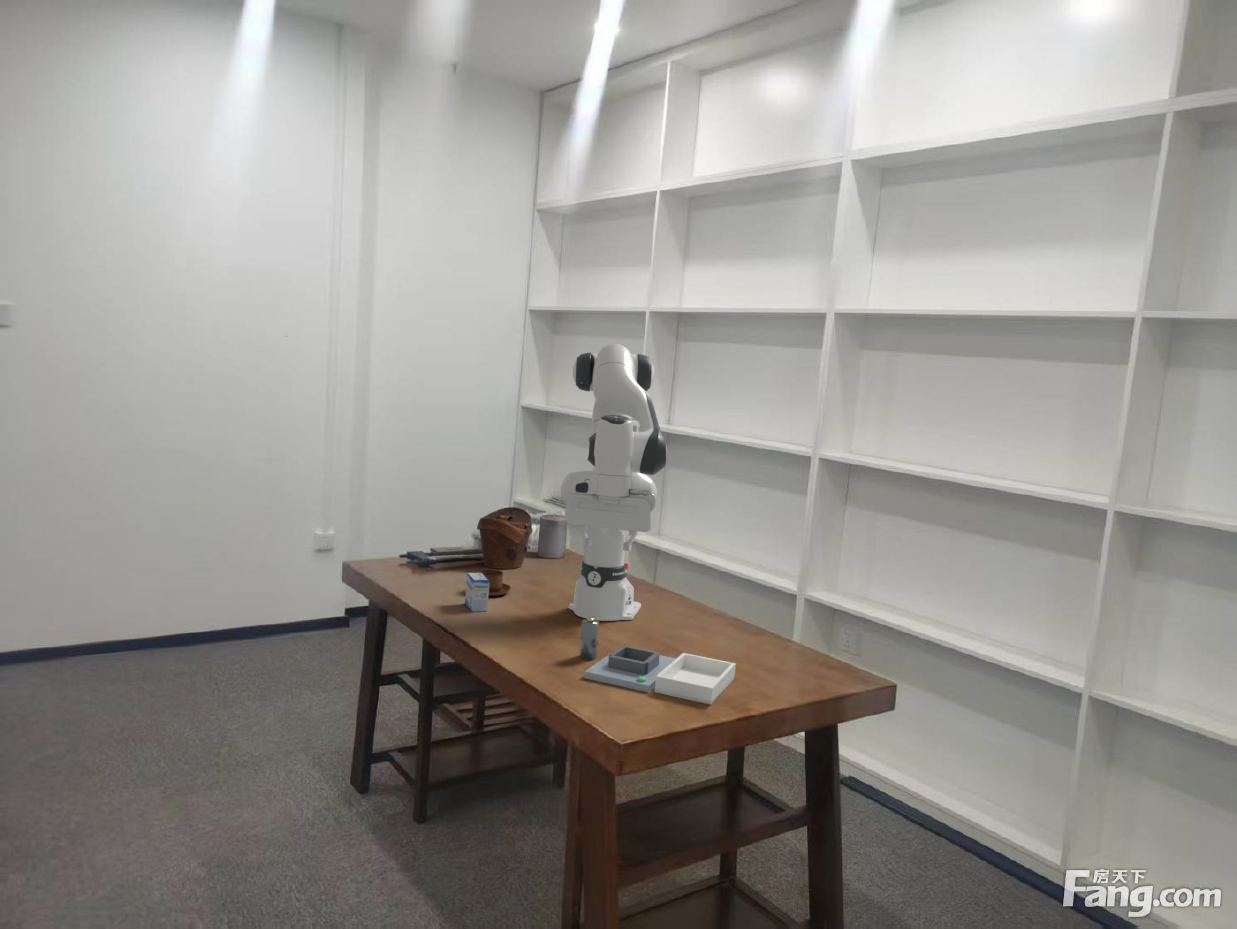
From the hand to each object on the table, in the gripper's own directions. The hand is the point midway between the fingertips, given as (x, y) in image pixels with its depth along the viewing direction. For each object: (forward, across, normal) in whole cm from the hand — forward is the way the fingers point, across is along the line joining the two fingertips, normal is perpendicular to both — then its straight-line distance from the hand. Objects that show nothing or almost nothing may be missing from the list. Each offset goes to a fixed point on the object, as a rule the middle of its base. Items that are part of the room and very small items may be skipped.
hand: (606, 548), depth 200 cm
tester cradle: (+27, -8, +1) cm, 28 cm away
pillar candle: (+19, +47, -98) cm, 110 cm away
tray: (+27, -23, +3) cm, 36 cm away
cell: (+26, +4, -3) cm, 27 cm away
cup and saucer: (+23, +46, -42) cm, 67 cm away
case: (+20, +56, -76) cm, 96 cm away
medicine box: (+24, +43, -27) cm, 56 cm away
